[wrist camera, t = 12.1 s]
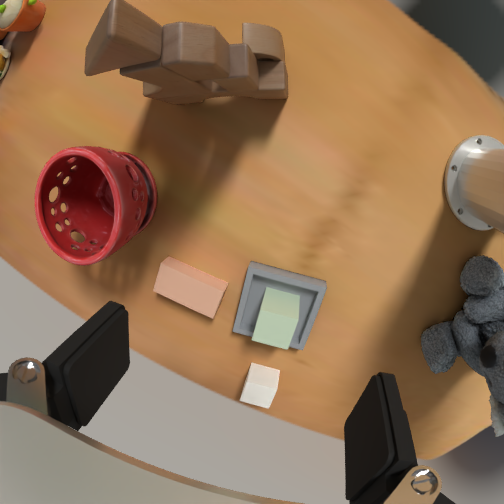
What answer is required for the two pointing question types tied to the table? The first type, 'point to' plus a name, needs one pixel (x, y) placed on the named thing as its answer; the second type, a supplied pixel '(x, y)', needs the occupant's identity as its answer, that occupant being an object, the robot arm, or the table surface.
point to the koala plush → (475, 332)
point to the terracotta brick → (190, 286)
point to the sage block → (277, 318)
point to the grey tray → (283, 281)
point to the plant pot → (94, 202)
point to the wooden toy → (187, 57)
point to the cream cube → (260, 385)
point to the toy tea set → (18, 23)
